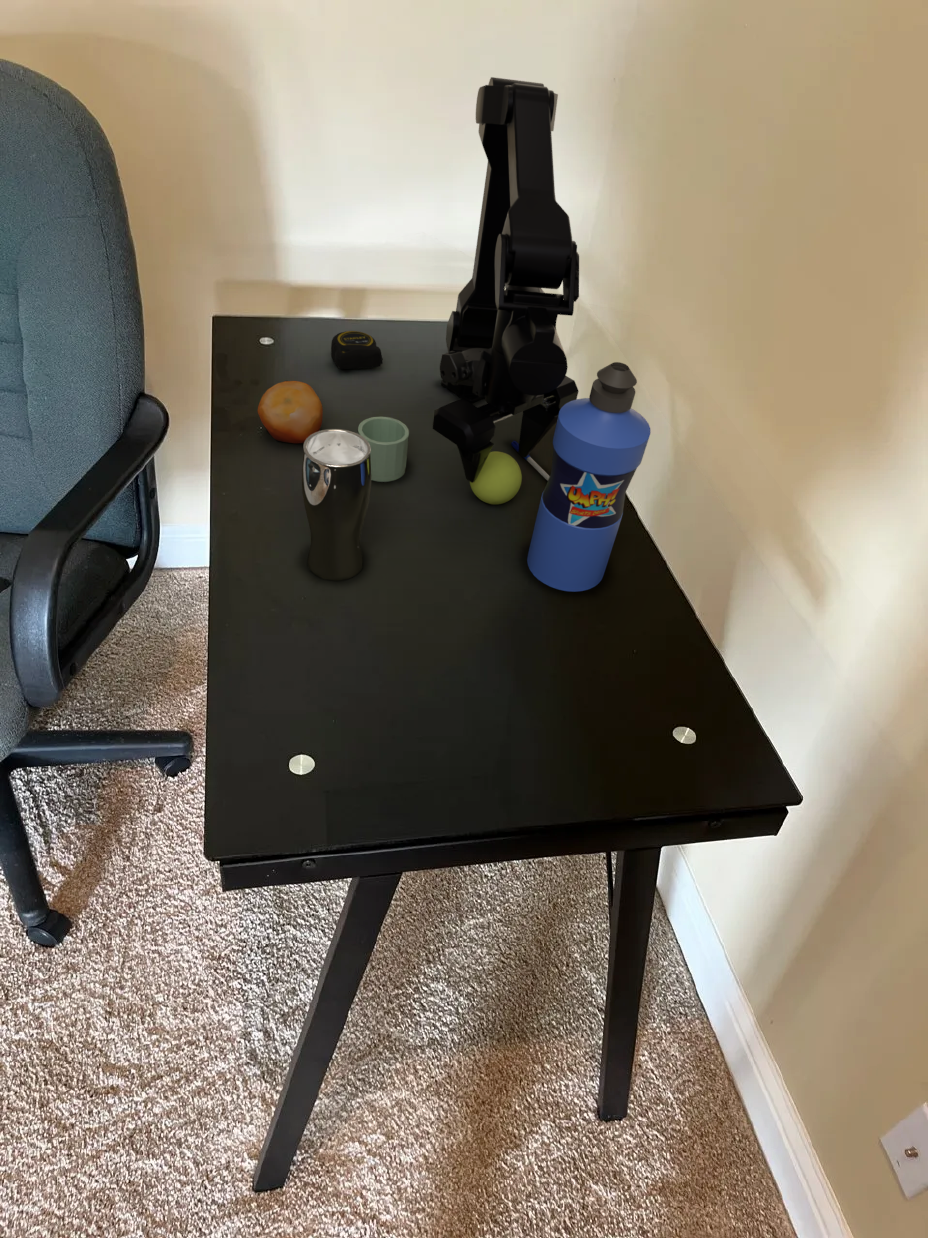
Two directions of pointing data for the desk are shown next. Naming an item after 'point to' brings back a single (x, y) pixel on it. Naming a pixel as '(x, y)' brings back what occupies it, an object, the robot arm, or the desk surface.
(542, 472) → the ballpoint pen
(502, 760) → the desk surface
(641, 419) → the blue squeeze bottle
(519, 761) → the desk surface
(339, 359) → the tape measure
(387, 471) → the cup
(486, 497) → the ball
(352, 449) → the metal tumbler
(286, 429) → the fruit
